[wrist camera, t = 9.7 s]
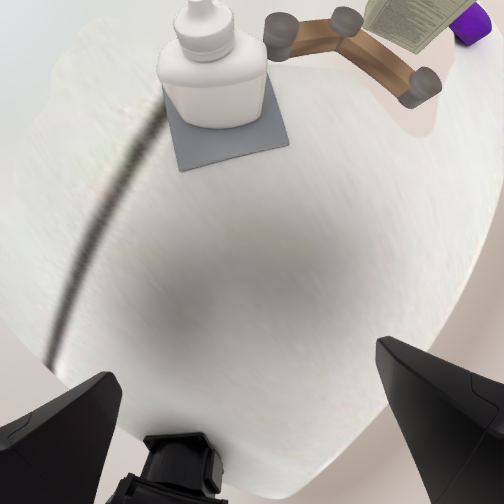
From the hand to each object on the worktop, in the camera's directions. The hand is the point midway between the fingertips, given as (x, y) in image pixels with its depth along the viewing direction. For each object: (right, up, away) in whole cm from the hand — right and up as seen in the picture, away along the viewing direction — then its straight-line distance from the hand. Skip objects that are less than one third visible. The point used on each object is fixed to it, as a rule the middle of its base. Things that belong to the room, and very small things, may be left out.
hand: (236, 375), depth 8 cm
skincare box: (+14, +26, +10) cm, 31 cm away
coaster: (-2, +14, +11) cm, 18 cm away
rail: (+8, +19, +11) cm, 23 cm away
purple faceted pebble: (+27, +33, +10) cm, 44 cm away
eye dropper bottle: (-2, +14, +11) cm, 18 cm away
